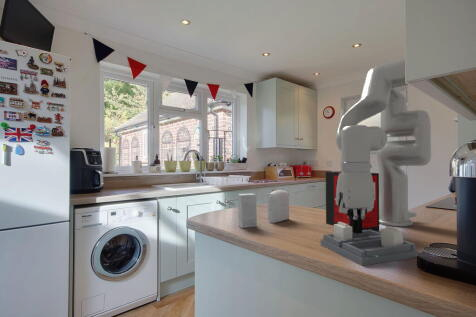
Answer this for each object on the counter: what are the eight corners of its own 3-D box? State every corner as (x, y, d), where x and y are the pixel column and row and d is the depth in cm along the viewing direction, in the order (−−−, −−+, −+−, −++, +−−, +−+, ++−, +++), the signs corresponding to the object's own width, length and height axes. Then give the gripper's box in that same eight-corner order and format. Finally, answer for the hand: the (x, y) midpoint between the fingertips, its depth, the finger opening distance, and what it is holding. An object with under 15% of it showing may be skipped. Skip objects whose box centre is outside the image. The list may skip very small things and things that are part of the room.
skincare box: (252, 224, 101) (252, 193, 101) (257, 226, 97) (256, 194, 97) (237, 225, 100) (237, 193, 100) (241, 228, 96) (241, 195, 96)
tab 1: (342, 239, 77) (342, 221, 77) (352, 243, 73) (352, 224, 73) (333, 240, 76) (333, 221, 76) (343, 244, 72) (343, 225, 72)
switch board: (370, 238, 82) (370, 228, 82) (419, 256, 67) (419, 244, 67) (320, 244, 77) (320, 234, 77) (361, 265, 61) (361, 252, 61)
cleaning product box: (379, 232, 89) (378, 173, 90) (358, 234, 86) (358, 173, 87) (344, 221, 105) (344, 171, 105) (326, 223, 102) (325, 171, 102)
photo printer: (275, 223, 102) (274, 191, 102) (266, 221, 105) (266, 190, 105) (290, 219, 109) (290, 189, 109) (282, 217, 112) (282, 188, 112)
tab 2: (389, 244, 72) (389, 225, 72) (403, 248, 68) (403, 228, 68) (381, 245, 71) (381, 226, 71) (394, 250, 67) (394, 229, 67)
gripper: (366, 167, 82) (367, 227, 81) (325, 168, 77) (325, 231, 77) (386, 168, 74) (387, 233, 74) (342, 169, 70) (343, 238, 70)
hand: (356, 232), depth 76 cm, fingers closed
